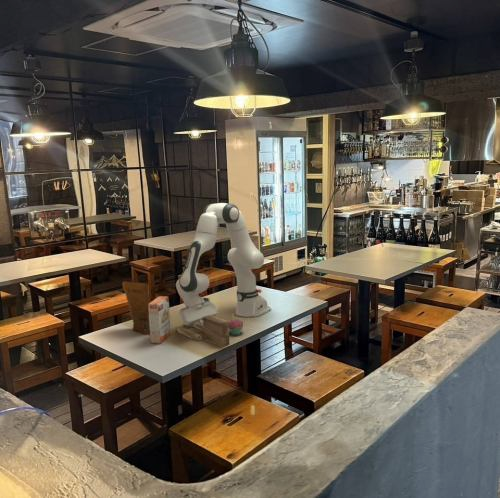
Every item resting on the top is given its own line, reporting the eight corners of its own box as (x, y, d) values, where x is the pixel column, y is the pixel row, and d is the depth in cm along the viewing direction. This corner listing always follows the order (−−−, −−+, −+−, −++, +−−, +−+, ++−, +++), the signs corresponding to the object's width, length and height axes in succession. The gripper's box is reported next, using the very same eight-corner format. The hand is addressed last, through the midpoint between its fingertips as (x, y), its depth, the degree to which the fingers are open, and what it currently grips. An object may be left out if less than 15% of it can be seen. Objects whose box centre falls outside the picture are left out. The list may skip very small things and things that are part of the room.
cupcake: (237, 337, 234) (236, 315, 232) (224, 334, 238) (223, 312, 236) (246, 331, 241) (245, 310, 239) (233, 329, 246) (232, 307, 243)
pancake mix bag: (147, 337, 238) (143, 285, 233) (125, 329, 250) (120, 280, 245) (157, 333, 244) (153, 282, 238) (135, 326, 255) (131, 277, 250)
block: (211, 336, 236) (210, 314, 234) (229, 343, 226) (228, 320, 224) (204, 339, 233) (202, 317, 230) (221, 346, 222) (220, 323, 220)
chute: (194, 325, 253) (194, 321, 253) (216, 334, 239) (216, 329, 238) (176, 331, 245) (175, 327, 245) (198, 341, 231) (197, 336, 230)
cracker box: (161, 344, 229) (158, 304, 225) (150, 343, 230) (147, 303, 226) (171, 333, 242) (169, 296, 238) (161, 333, 243) (158, 295, 239)
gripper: (180, 306, 230) (192, 329, 225) (212, 297, 244) (224, 318, 238) (175, 312, 234) (187, 335, 229) (207, 303, 248) (219, 324, 242)
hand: (206, 327), depth 234 cm, fingers closed, pressing on block
